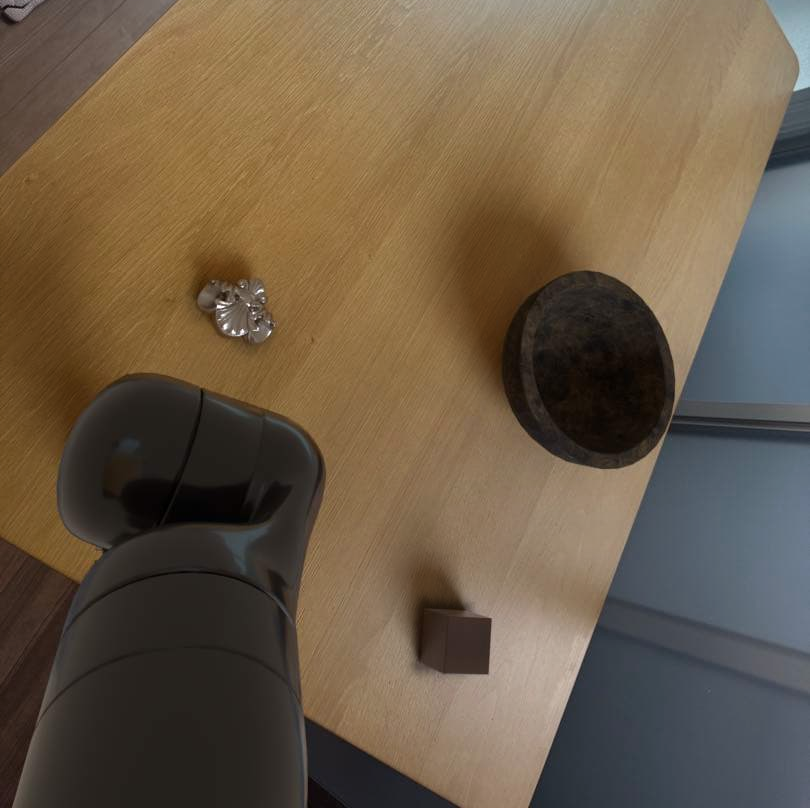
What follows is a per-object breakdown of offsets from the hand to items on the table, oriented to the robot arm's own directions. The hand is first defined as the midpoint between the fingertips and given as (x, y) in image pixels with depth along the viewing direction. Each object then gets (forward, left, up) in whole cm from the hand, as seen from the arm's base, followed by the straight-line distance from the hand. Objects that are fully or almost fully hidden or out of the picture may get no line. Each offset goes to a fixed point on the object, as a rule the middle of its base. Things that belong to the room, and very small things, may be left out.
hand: (117, 474), depth 59 cm
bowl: (+32, -38, -7) cm, 50 cm away
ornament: (+19, -2, -7) cm, 20 cm away
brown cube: (+1, -37, -7) cm, 38 cm away
